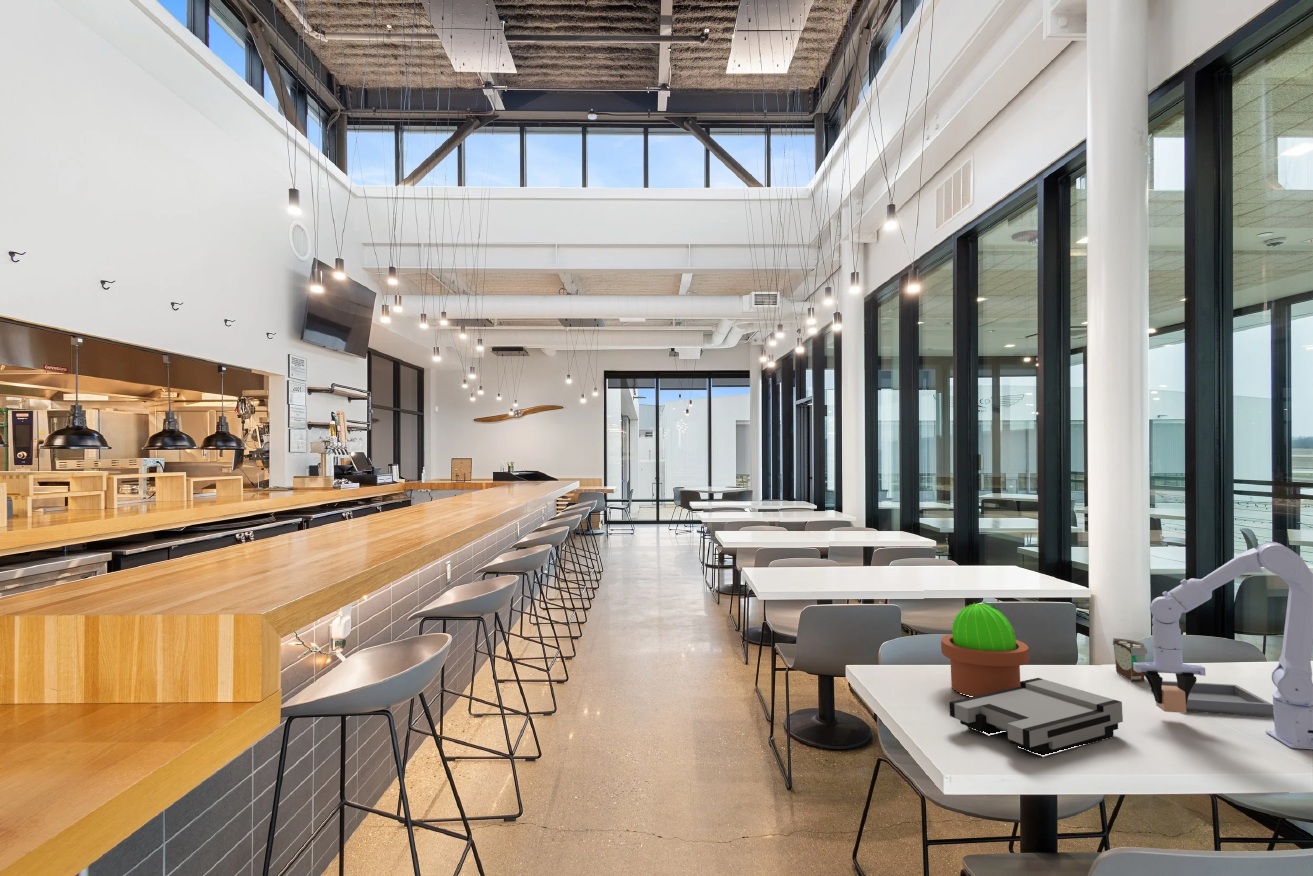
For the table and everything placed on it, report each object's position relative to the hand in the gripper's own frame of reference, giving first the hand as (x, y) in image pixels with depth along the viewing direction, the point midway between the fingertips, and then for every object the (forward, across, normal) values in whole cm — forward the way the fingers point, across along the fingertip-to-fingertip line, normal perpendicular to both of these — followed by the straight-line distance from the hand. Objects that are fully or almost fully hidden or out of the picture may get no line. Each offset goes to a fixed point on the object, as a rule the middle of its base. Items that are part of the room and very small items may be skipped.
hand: (1170, 703), depth 165 cm
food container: (+4, -6, -37) cm, 38 cm away
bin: (+4, -15, -16) cm, 22 cm away
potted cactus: (+4, +39, -14) cm, 42 cm away
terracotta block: (+1, 0, 0) cm, 1 cm away
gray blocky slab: (+5, +34, +16) cm, 38 cm away
